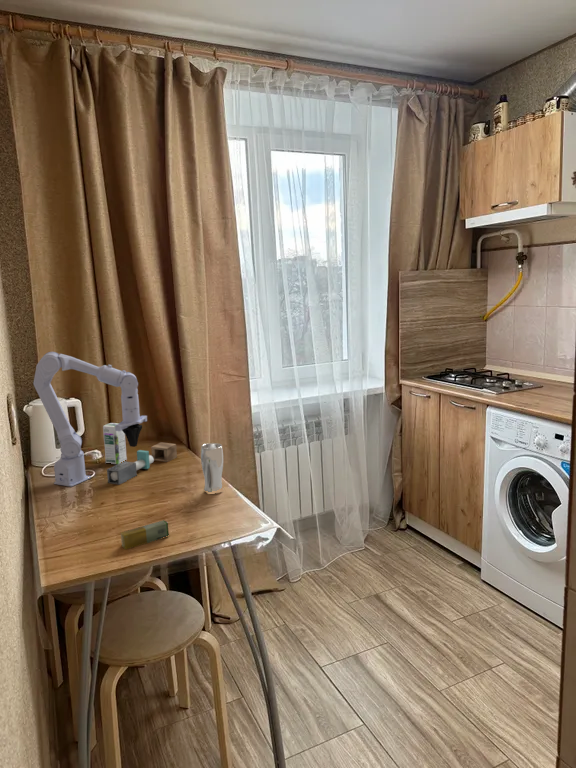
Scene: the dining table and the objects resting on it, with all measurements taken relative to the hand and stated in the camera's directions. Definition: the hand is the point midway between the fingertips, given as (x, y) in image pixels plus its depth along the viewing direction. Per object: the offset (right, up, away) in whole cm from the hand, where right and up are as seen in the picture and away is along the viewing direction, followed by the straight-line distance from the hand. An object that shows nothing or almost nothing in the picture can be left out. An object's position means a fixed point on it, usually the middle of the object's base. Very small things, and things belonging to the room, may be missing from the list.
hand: (133, 446), depth 192 cm
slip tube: (0, -10, +1) cm, 10 cm away
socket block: (+7, -7, +17) cm, 20 cm away
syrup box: (-11, -8, +15) cm, 20 cm away
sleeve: (-2, -11, -4) cm, 12 cm away
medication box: (+17, -19, -50) cm, 56 cm away
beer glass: (+30, -13, -17) cm, 37 cm away
